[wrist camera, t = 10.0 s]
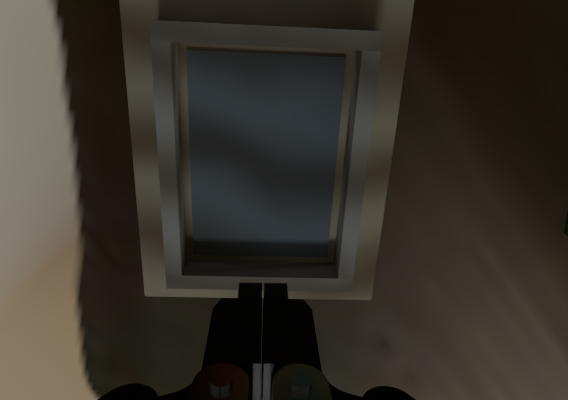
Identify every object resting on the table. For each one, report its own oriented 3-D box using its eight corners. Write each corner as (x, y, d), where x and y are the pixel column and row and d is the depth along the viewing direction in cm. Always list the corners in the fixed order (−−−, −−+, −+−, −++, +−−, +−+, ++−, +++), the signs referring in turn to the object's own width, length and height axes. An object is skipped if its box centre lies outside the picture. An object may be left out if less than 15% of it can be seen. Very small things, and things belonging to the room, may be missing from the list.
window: (122, -22, 24) (104, -27, 22) (409, -7, 25) (427, -10, 22) (148, 288, 32) (137, 314, 29) (368, 292, 33) (377, 317, 30)
